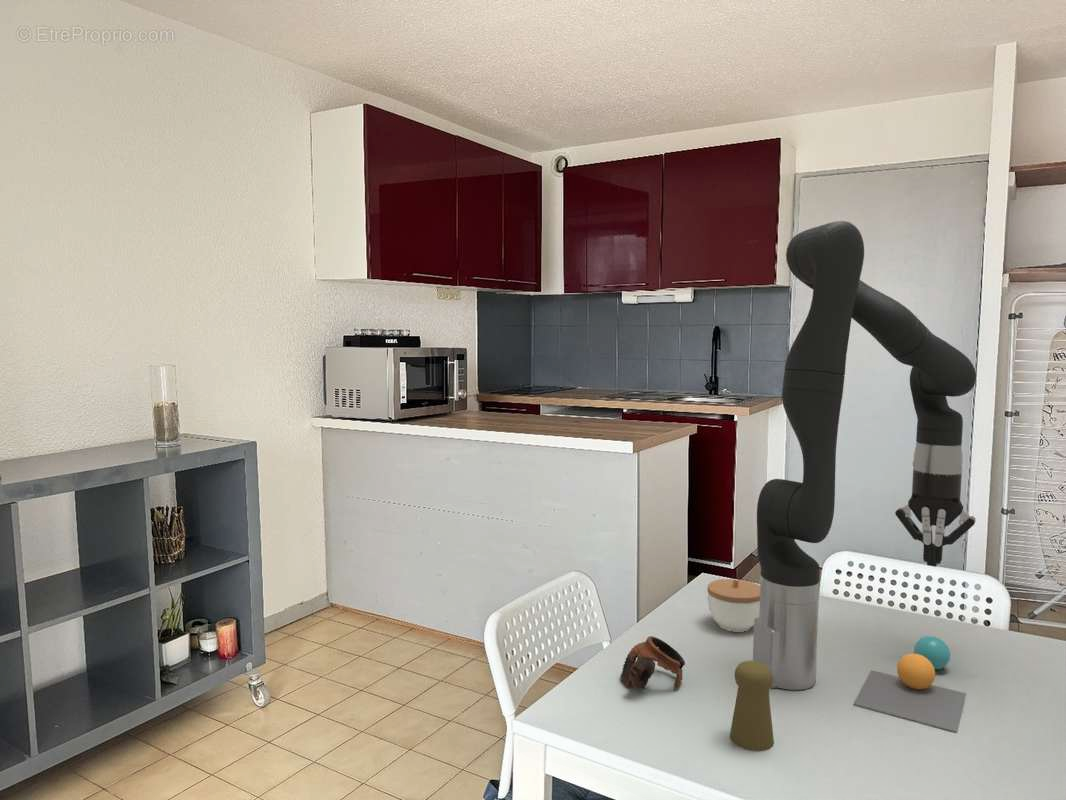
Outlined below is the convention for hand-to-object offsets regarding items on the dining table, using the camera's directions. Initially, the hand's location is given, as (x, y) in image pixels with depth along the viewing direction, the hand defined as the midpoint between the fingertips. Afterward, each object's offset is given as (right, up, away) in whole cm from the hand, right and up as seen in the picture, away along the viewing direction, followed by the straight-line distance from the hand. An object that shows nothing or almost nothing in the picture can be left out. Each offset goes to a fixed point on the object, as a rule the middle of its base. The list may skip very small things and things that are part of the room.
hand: (932, 564), depth 132 cm
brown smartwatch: (-52, -18, -10) cm, 56 cm away
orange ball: (-9, -15, -11) cm, 20 cm away
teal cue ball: (-2, -14, -4) cm, 15 cm away
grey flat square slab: (-11, -18, -15) cm, 26 cm away
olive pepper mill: (-40, -19, -26) cm, 51 cm away
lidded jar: (-31, -15, +14) cm, 38 cm away
